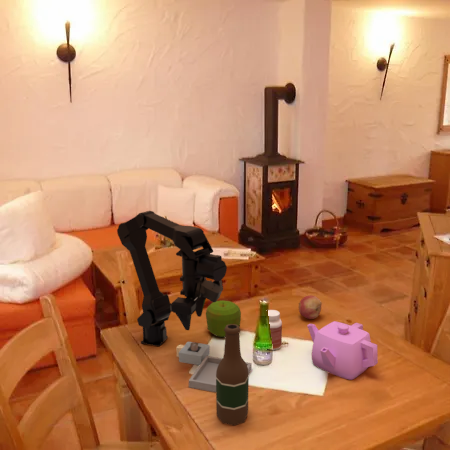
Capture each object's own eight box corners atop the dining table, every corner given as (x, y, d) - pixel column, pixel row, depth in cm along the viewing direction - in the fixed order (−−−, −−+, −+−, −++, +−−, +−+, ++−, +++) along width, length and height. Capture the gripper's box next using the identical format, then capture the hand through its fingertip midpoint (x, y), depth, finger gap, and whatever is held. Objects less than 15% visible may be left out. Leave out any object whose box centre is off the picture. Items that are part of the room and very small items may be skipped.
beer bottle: (215, 407, 129) (214, 319, 122) (246, 405, 129) (246, 318, 123) (217, 427, 121) (216, 334, 115) (250, 425, 122) (251, 333, 116)
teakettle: (379, 380, 140) (383, 339, 137) (318, 382, 140) (320, 341, 136) (360, 349, 157) (363, 312, 153) (305, 351, 156) (306, 313, 153)
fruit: (305, 324, 173) (306, 302, 171) (294, 315, 180) (294, 294, 178) (325, 320, 175) (326, 299, 173) (313, 311, 182) (314, 290, 180)
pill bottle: (285, 347, 158) (286, 314, 155) (269, 352, 155) (270, 319, 152) (273, 339, 163) (273, 306, 160) (257, 344, 160) (257, 311, 157)
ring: (209, 353, 154) (209, 344, 154) (201, 365, 148) (201, 356, 147) (182, 349, 157) (182, 340, 156) (173, 360, 151) (173, 351, 150)
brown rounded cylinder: (189, 359, 152) (189, 345, 150) (192, 355, 154) (192, 341, 152) (196, 360, 151) (196, 346, 150) (199, 356, 153) (199, 342, 152)
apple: (246, 329, 169) (246, 299, 167) (229, 343, 161) (229, 311, 158) (217, 322, 175) (217, 292, 172) (200, 335, 166) (199, 304, 163)
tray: (188, 387, 137) (188, 380, 137) (206, 362, 150) (206, 355, 149) (237, 396, 133) (237, 389, 133) (251, 369, 146) (251, 363, 145)
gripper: (207, 287, 134) (208, 342, 138) (229, 264, 151) (229, 313, 155) (168, 283, 138) (170, 335, 142) (194, 260, 155) (195, 308, 159)
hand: (193, 323), depth 149 cm, fingers open, 9 cm apart
